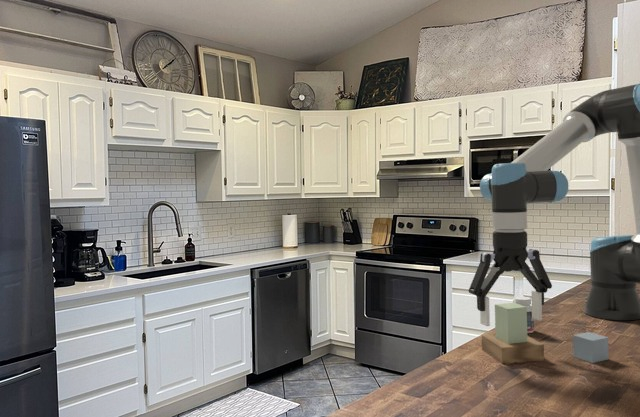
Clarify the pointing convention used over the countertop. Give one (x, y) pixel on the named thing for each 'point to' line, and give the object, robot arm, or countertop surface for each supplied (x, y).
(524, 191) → the robot arm
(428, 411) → the countertop surface
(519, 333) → the sage block
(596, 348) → the slate cube
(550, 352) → the countertop surface
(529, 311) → the pill bottle
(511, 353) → the walnut slab
